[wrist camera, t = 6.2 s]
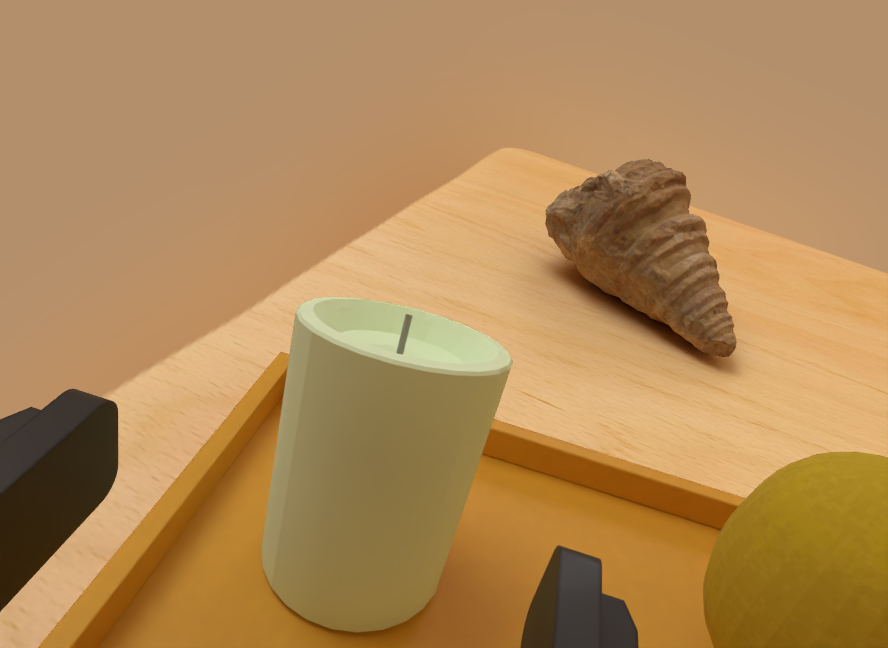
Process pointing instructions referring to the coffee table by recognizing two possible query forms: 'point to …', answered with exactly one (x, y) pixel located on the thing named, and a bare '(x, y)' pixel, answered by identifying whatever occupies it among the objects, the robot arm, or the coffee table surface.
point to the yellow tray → (466, 568)
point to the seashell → (646, 249)
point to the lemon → (805, 559)
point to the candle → (375, 457)
